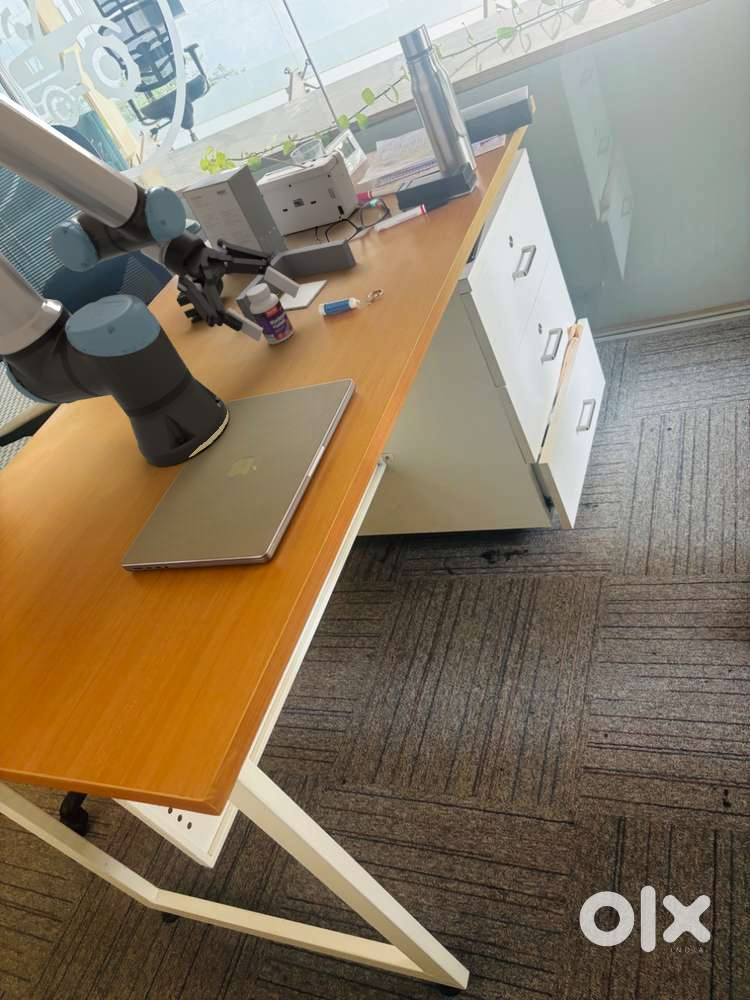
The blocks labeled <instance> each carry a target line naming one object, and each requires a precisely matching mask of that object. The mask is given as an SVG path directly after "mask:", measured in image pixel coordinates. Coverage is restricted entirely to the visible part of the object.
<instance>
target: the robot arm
mask: <svg viewBox="0 0 750 1000" xmlns="http://www.w3.org/2000/svg"><path fill="white" fill-rule="evenodd" d="M0 166H1V167H3V168H5V169H6V170H8V171H10V172H12V173H13V174H15V175H17V176H18V177H20V178H22V179H24V180H26V181H27V182H29V183H31V184H33V185H34V186H36V187H38V188H40V189H41V190H43V191H45V192H47V193H48V194H50V195H52V196H54V197H56V198H58V199H59V200H61V201H62V202H64V203H66V204H68V205H69V206H71V207H73V208H74V209H77V210H79V211H81V213H78V214H76V215H74V216H73V217H71V218H68V219H64V220H63V221H62V222H61V223H60V224H59V225H56V226H55V228H54V229H53V230H52V232H51V234H50V245H51V248H52V251H53V253H54V254H55V256H56V257H57V259H58V261H60V263H62V265H64V266H65V267H66V268H68V269H70V270H72V271H74V272H78V273H79V272H82V273H83V272H85V271H87V270H90V269H92V268H95V267H97V265H99V264H100V263H102V262H103V261H106V260H111V259H114V258H116V257H120V256H124V255H127V254H131V253H132V252H135V251H137V252H139V253H141V254H143V255H145V256H146V257H147V258H149V259H151V260H152V261H154V262H156V263H157V264H159V265H160V266H164V267H165V269H167V270H168V271H170V272H172V273H173V274H174V275H176V276H178V280H177V286H176V289H177V290H178V291H179V293H180V292H182V293H183V294H184V295H186V296H187V298H188V299H189V300H190V302H191V303H192V306H193V308H194V307H195V309H196V310H197V311H198V313H199V314H200V315H201V317H202V318H203V319H204V320H203V321H204V322H205V323H206V325H207V327H209V328H214V327H215V325H216V326H217V327H222V326H223V325H225V326H226V327H228V328H229V329H231V330H234V331H235V332H241V333H243V334H244V335H246V336H248V337H250V338H251V339H253V340H255V341H256V342H259V341H260V340H261V337H262V335H263V333H262V331H263V328H262V327H260V326H258V324H257V323H255V322H254V321H250V320H249V319H247V318H245V317H244V315H243V314H240V313H239V312H237V311H236V310H234V309H233V308H231V307H230V308H228V309H227V311H226V308H225V305H224V304H223V302H222V301H223V300H222V298H221V296H219V294H218V291H217V289H216V287H215V285H216V284H217V282H218V280H219V279H223V278H224V277H225V276H226V275H231V274H241V275H243V274H244V275H255V276H258V275H265V276H264V280H266V281H268V282H269V283H271V284H272V285H274V286H276V287H277V288H279V289H280V290H282V291H281V292H284V294H285V293H287V294H289V295H290V296H292V297H293V298H295V297H296V295H297V293H298V290H299V287H300V285H301V284H299V283H297V282H296V281H294V280H292V279H289V278H288V277H286V276H285V274H284V273H283V272H281V271H279V270H278V269H276V268H275V267H273V266H272V265H271V264H270V263H271V258H272V256H271V254H268V253H264V252H261V251H257V250H253V249H249V248H245V247H241V246H237V245H233V244H230V243H228V242H226V241H224V240H222V239H218V240H217V245H216V247H215V248H214V249H213V248H212V247H210V246H207V245H206V244H205V242H204V240H203V239H202V238H201V237H200V236H198V235H196V234H195V233H193V232H192V231H190V230H189V229H186V226H187V225H186V223H187V221H186V220H187V213H186V210H185V206H184V204H183V202H182V200H181V198H180V197H179V196H178V195H177V193H176V192H175V191H174V190H172V188H170V187H168V186H162V185H161V186H156V187H155V186H150V187H149V188H148V189H145V188H143V187H142V186H141V185H140V184H138V183H136V182H135V181H133V180H132V179H130V178H129V177H127V176H126V175H124V174H123V173H121V172H120V171H118V170H117V169H115V168H114V167H112V166H111V165H109V164H108V163H106V162H105V161H103V160H102V159H100V158H98V156H96V155H94V154H93V153H92V152H90V151H88V150H87V149H86V148H84V147H83V146H81V145H79V144H78V143H76V141H73V140H72V139H71V138H69V137H67V135H64V134H63V133H62V132H60V131H58V130H57V129H56V128H54V127H52V126H51V125H49V124H48V123H47V122H45V121H44V120H42V119H40V118H39V117H37V116H36V115H35V114H33V113H31V112H30V111H28V110H27V109H26V108H24V107H22V106H21V105H20V104H18V103H16V102H15V101H13V100H12V99H11V98H9V97H7V95H5V94H3V93H1V92H0ZM263 259H264V260H263ZM224 262H227V263H226V265H225V263H224ZM260 267H262V268H260ZM193 283H197V284H200V285H201V288H202V290H203V293H204V294H206V297H207V299H208V302H209V303H208V302H207V301H206V299H205V298H204V297H203V295H202V294H201V292H200V291H199V290H198V288H197V287H196V286H195V285H194V284H193ZM191 303H190V304H191ZM209 304H210V305H209ZM0 356H1V357H2V363H3V367H5V368H6V371H5V374H6V377H7V379H8V380H9V382H10V384H12V386H13V387H14V388H15V389H16V390H17V391H18V392H19V393H20V394H21V395H22V396H24V397H26V398H28V399H29V400H31V401H34V402H37V403H40V404H45V405H64V404H66V405H68V404H71V403H72V404H73V403H75V402H78V401H82V400H89V399H94V398H101V397H106V396H112V398H113V399H114V400H115V401H116V404H118V406H119V407H120V408H121V410H122V411H123V413H125V415H126V416H127V417H128V420H129V421H130V422H129V423H130V425H131V429H132V432H133V434H134V437H135V439H136V442H137V445H138V446H137V447H138V449H139V452H140V453H141V455H142V456H143V457H144V459H145V460H146V461H147V462H148V463H149V464H150V465H151V466H153V467H158V468H160V467H161V468H162V467H169V466H174V465H177V464H180V463H181V464H182V462H185V461H187V459H188V458H189V456H190V455H191V454H192V453H193V452H194V451H195V450H196V449H197V448H198V447H199V446H200V445H202V444H203V443H204V442H206V441H207V440H208V439H209V438H210V437H211V436H212V435H213V434H214V433H215V432H216V431H217V430H218V429H219V427H220V426H221V425H222V424H223V422H224V420H225V418H226V415H227V409H228V408H227V406H226V405H225V403H224V402H223V400H222V399H221V398H220V397H219V396H218V395H216V394H215V393H214V392H213V391H211V390H210V389H209V388H207V387H206V386H205V385H204V384H203V383H201V382H200V381H199V380H197V379H196V378H195V377H194V376H193V374H192V373H191V371H190V369H189V367H188V366H187V365H186V363H185V362H184V360H183V359H182V357H181V356H180V354H179V352H178V350H177V349H176V348H175V346H174V344H173V343H172V340H170V338H169V336H168V335H167V333H166V332H165V330H164V328H163V327H162V325H161V323H160V322H159V320H158V318H157V317H156V315H155V314H153V313H152V312H151V310H150V309H149V308H148V306H147V305H146V304H145V302H144V301H143V300H142V299H140V298H139V297H137V296H135V295H132V294H123V293H122V294H120V293H119V294H113V295H108V296H105V297H101V298H100V299H99V300H97V301H94V302H93V301H92V302H89V303H88V304H86V305H84V306H82V307H81V308H79V309H78V310H77V311H75V312H74V313H73V314H72V313H71V312H70V311H69V310H68V309H67V308H66V307H65V306H64V305H63V304H62V302H61V301H59V300H58V299H48V298H43V296H42V295H40V293H39V292H38V291H37V290H36V289H35V288H34V287H33V285H32V284H31V283H30V282H29V281H28V280H27V279H26V278H25V277H24V276H23V275H22V274H21V272H20V271H19V270H18V269H17V268H16V267H15V266H14V265H13V264H12V263H11V261H10V260H9V259H8V258H7V257H6V256H5V255H4V254H3V253H2V252H1V251H0ZM188 460H189V459H188Z"/></svg>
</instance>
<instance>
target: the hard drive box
mask: <svg viewBox="0 0 750 1000" xmlns="http://www.w3.org/2000/svg"><path fill="white" fill-rule="evenodd" d="M256 183H257V182H256V180H255V178H254V176H253V173H252V172H251V170H250V168H249V166H248V164H244V165H240V166H238V167H237V166H236V167H234V168H230V169H226V170H222V171H219V172H216V173H213V174H209V175H205V176H203V177H202V176H201V178H199V179H198V180H197V181H195V182H194V183H192V184H191V185H190V186H188V187H187V188H186V189H184V190H183V191H182V192H181V195H182V196H183V197H184V200H185V201H186V203H187V204H188V206H189V209H190V210H191V212H192V214H193V215H194V217H195V219H196V221H197V223H198V224H199V226H200V228H201V230H202V232H203V233H204V235H205V237H206V239H207V241H208V242H209V244H210V246H211V248H213V249H214V248H215V247H216V245H217V240H218V239H222V240H224V241H226V242H228V243H230V244H233V245H237V246H241V247H245V248H249V249H253V250H257V251H261V252H264V253H268V254H271V256H272V258H271V261H272V260H273V258H274V257H275V256H276V255H277V254H278V253H279V252H284V251H289V250H290V249H288V247H287V245H286V242H285V240H284V237H283V236H282V235H281V234H280V232H279V230H278V228H277V226H276V223H275V221H274V219H273V217H272V215H271V213H270V211H269V209H268V207H267V205H266V203H265V201H264V199H263V197H262V195H261V192H260V190H259V188H258V186H257V184H256ZM263 260H264V259H263ZM224 263H225V265H226V263H227V262H224ZM260 268H262V267H260Z"/></svg>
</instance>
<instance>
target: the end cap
mask: <svg viewBox="0 0 750 1000" xmlns="http://www.w3.org/2000/svg"><path fill="white" fill-rule="evenodd" d="M193 284H194V285H195V286H196V287H197V288H198V290H199V291H200V292H201V294H202V295H203V297H204V298H205V299H206V301H207V302H208V299H207V297H206V294H204V293H203V290H202V288H201V285H200V284H197V283H193ZM215 287H216V289H217V291H218V294H219V296H220V297H221V296H222V293H223V290H224V287H225V286H224V281H223V278H221V279H219V280H218V282H217V284H216V285H215ZM176 302H177V303H178V305H179V307H180V308H181V307H184V306H187V305H190V304H192V303H191V302H190V300H189V299H188V298H187V296H186V295H184V294H183V293H182V292H180V291H179V293H178V295H177V297H176ZM208 303H209V302H208ZM192 305H193V304H192ZM209 305H210V304H209ZM183 313H184V315H185V316H186V318H187V319H191V320H190V323H191V324H196V323H198V322H203V321H204V319H203V318H202V317H201V315H200V314H199V313H198V311H197V310H196V309H195V307H194V306H193V308H190V309H187V310H185V311H183Z"/></svg>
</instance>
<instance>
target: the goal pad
mask: <svg viewBox="0 0 750 1000" xmlns="http://www.w3.org/2000/svg"><path fill="white" fill-rule="evenodd" d="M327 283H328V279H325V280H324V279H323V280H320V281H314V282H313V281H312V282H307V283H302V284H301V283H300V284H299V285H300V287H299V290H298V293H297V295H296V297H295V298H293V297H292V296H290V295H289V294H287V293H285V292H284V294H283V295H282V296H281V297H280V299H279V301H280V302H281V305H282V307H283V309H284V310H285V311H290V309H292V310H298V308H299V309H304V308H308V307H309V305H311V303H313V300H314V299H316V297H317V296H318V295H319V293H320V292H321V291H322V290H323V288H324V287H325V286H326V285H327Z"/></svg>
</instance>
